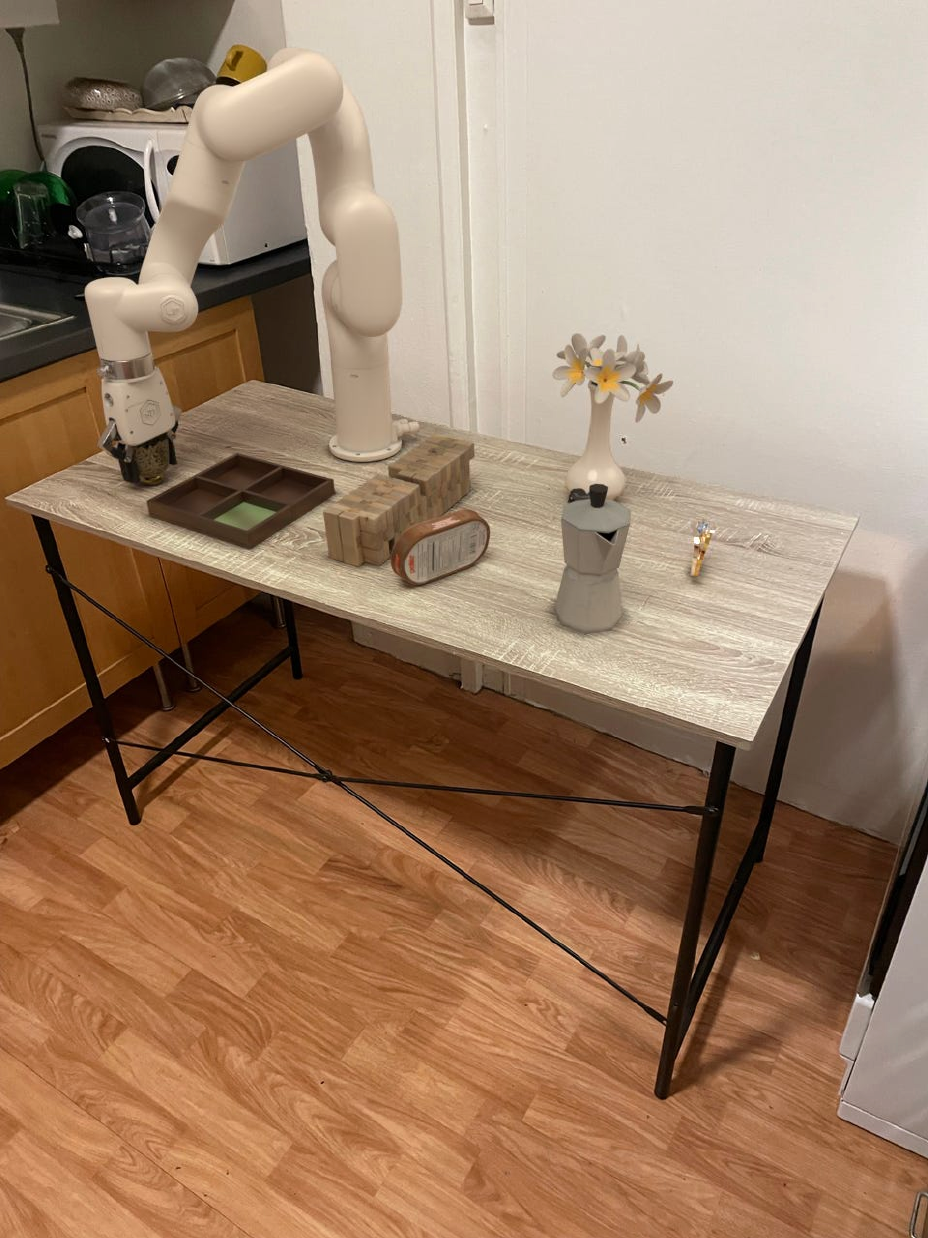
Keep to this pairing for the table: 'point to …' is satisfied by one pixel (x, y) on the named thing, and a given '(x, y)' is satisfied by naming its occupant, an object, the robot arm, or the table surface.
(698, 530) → the ring
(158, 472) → the cup
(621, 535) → the coffee maker
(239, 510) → the grid
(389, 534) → the block tower
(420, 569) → the tin
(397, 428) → the robot arm
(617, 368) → the flower vase
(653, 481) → the table surface
